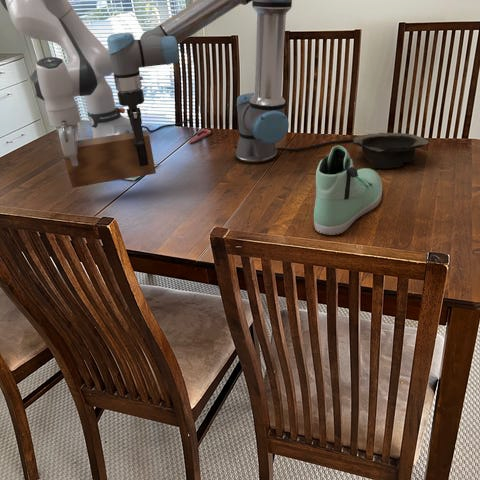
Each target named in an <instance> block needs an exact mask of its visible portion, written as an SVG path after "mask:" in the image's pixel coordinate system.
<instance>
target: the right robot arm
mask: <svg viewBox="0 0 480 480" xmlns="http://www.w3.org/2000/svg"><path fill="white" fill-rule="evenodd" d="M249 3H251V6H252V8H253V10H254V11H255V12H256V35H255V36H256V38H255V39H256V40H255V63H254V65H255V69H254V70H255V71H254V92H249V93H244V94H241V95H240V94H239V96H238V97H237V99H236V110H237V120H238V121H237V123H238V135H239V137H238V138H239V139H238V142H237V148H236V150H235V158H236V160H237V161H239V162H240V163H243V164H249V165H250V164H251V165H253V164H254V165H255V164H258V165H259V164H265V163H268V162H271V161H273V160H275V159H276V158H277V157H278V151H282V152H283V151H286V152H297V151H298V152H299V151H303V150H304V151H305V150H308V149H314V148H318V147H322V146H328V145H334V144H341V143H348V142H350V143H351V142H354V138H349V139H348V138H347V139H339V140H332V141H327V142H321V143H317V144H313V145H312V144H311V145H307V146H303V147H297V148H295V147H294V148H287V147H276V144H277V143H279V142H281V141H282V140H283V139H285V137H286V135H287V134H288V131H289V128H290V123H289V119H288V117H287V115H286V100H285V99H284V97H283V96H282V86H283V85H282V84H283V70H284V56H285V55H284V53H285V52H284V51H285V36H286V21H287V14H288V12H289V11H290V10H291V9H292V7H293V0H196V1H194V2H193V3H190V4H189V5H188V6H186V7H185V8H183V9H182V10H179V12H177V13H176V14H174V15H173V16H171V17H170V18H168V19H166V20H165V21H163V22H162V23H160V24H159V25H157V26H156V27H154V28H153V29H149V30H146V31H144V32H143V33H142V35H141V36H140V38H139V39H135V36H134V34H133V33H132V32H118V33H112V34H110V35H108V37H107V39H106V41H107V49H108V50H109V55H110V60H111V64H112V69H113V73H112V75H113V81H114V85H115V89H116V91H117V93H116V94H117V99H118V103H119V105H120V106H122V107H127V109H126V114H127V116H128V119H129V120H130V124H131V127H132V131H133V132H134V135H135V140H136V144H134V147H136V148H137V153H138V158H139V163H140V166H146V165H149V163H148V157H147V152H146V146H145V141H144V136H143V129H144V128H142V126H143V125H142V124H143V120H142V111H141V109H140V107H138V105H142V104H143V103H144V102H145V96H144V95H145V94H144V90H143V89H142V87H143V85H142V81H143V80H144V78H143V76H141V73H140V68H146V67H147V68H148V67H157V66H166V65H167V66H169V65H171V64H176V63H178V62H179V59H180V53H179V46H178V45H179V44H180V43H182V42H183V41H185V40H187V39H188V38H190V37H191V36H194V35H195V34H196V33H198V32H199V31H200V30H202V29H204V28H205V27H207V26H208V25H210V24H212V23H213V22H215V21H216V20H218V19H219V18H221V17H223V16H224V15H226V14H227V13H229V12H230V11H232V10H233V9H235V8H237V7H238V6H240V5H243V6H247V5H248V4H249ZM138 141H142V142H138Z"/></svg>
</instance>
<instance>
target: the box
mask: <svg viewBox="0 0 480 480" xmlns="http://www.w3.org/2000/svg"><path fill="white" fill-rule="evenodd" d="M142 131H143V136H144V141H145V146H146V152H147V157H148V163H149V165H146V166H140V163H139V158H138V153H137V148H136V147H134V144H136V140H135V135H134V132H130V133H124V134H118V135H111V136H105V137H98V138H86V139H80V140H79V139H78V150H77V159H78V166H72V163H71V160H70V158H69V157H68V158H66V157H65V156H64V154H63V150H62V149H61V154H62V157H63V160H64V163H65V167H66V170H67V175H68V178H69V181H70V185H71V188H72V189H75V188H80V187H86V186H92V185H97V184H103V183H104V184H105V183H109V182H114V181H120V180H128V179H127V178H132V177H138V176H140V177H143V176H150V175H155V174H157V171H156V167H155V165H156V164H155V161H154V153H153V149H152V143H151V138H150V133H149V131H148V130H147V129H145V130H142ZM138 142H142V141H138ZM154 164H155V165H154ZM138 178H139V177H138Z"/></svg>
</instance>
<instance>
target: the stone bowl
mask: <svg viewBox="0 0 480 480" xmlns="http://www.w3.org/2000/svg"><path fill="white" fill-rule="evenodd" d="M353 139H354V141H352V144H353V145H355V146H358V147H360V148H361V151H362V154H363V157H365V158H366V160H368V161H370V162H371V164H372V167H373V168H375V169H383V170H384V169H386V170H387V169H388V170H389V169H391V168H393V169H397V168H401V167H402V166H403V165H404V163H413V162H414V160H415V156H416V149H420V148H423V147H425V146H426V145H428V144H430V142H429V140H427V139H426V138H424V137H422V136H419V135H417V134H412V133H403V132H377V133H367V134H362V135H359V136H356V137H354V138H353Z"/></svg>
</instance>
